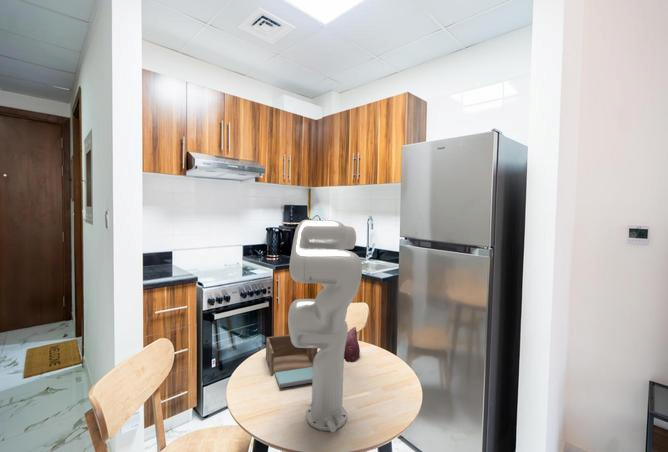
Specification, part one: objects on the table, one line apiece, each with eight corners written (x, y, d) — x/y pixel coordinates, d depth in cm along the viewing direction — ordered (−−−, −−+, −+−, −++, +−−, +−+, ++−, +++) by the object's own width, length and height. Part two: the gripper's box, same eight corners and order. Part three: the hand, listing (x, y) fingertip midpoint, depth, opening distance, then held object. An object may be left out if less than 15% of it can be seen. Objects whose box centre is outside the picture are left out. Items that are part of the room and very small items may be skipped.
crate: (316, 371, 121) (317, 347, 120) (271, 379, 115) (271, 353, 114) (306, 354, 135) (307, 332, 134) (265, 360, 129) (266, 337, 128)
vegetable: (358, 359, 139) (367, 327, 140) (357, 367, 129) (367, 333, 130) (336, 351, 140) (345, 320, 141) (334, 359, 130) (344, 325, 131)
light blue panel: (313, 369, 120) (321, 380, 110) (274, 375, 115) (280, 387, 105) (313, 366, 120) (321, 377, 110) (274, 372, 115) (280, 384, 105)
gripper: (346, 261, 112) (344, 311, 113) (332, 256, 126) (330, 299, 127) (326, 262, 109) (325, 312, 110) (314, 256, 123) (313, 301, 124)
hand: (328, 305), depth 118 cm, fingers closed
